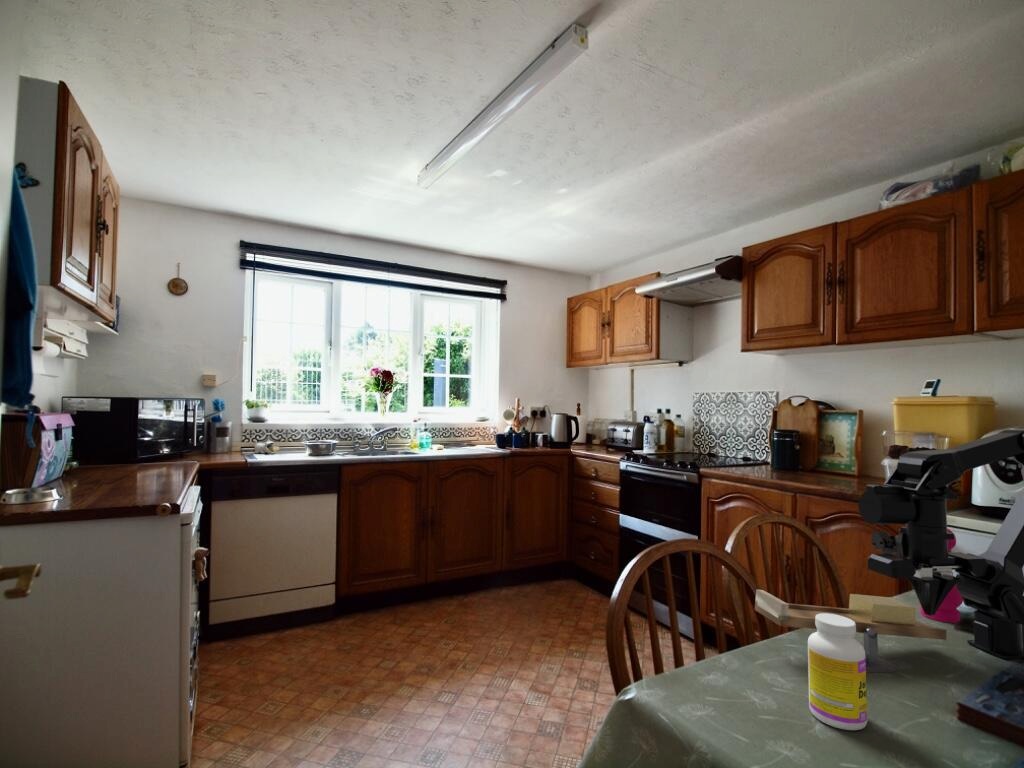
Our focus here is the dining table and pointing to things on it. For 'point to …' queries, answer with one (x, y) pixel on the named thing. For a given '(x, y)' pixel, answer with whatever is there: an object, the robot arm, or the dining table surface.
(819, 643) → the supplement bottle
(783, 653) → the dining table surface
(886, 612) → the brass rider
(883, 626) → the balance beam
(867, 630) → the stand
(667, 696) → the dining table surface
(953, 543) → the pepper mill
